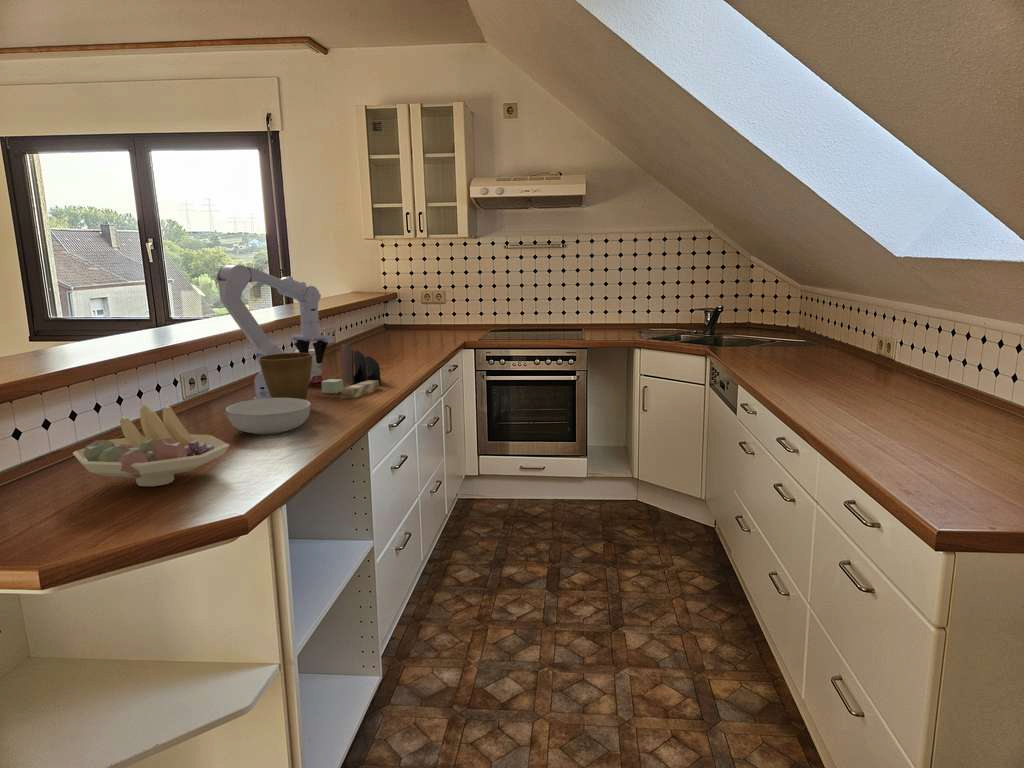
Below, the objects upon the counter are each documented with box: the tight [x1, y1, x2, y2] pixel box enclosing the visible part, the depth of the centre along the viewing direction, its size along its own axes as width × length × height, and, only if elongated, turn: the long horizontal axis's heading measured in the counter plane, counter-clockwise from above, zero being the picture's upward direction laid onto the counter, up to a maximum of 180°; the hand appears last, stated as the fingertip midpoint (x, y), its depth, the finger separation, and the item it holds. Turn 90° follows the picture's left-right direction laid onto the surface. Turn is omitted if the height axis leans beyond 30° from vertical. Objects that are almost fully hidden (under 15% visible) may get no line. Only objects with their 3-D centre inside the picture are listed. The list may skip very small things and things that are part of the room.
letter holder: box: [340, 343, 382, 387], centre depth 249 cm, size 10×20×14 cm, turn 24°
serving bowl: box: [225, 398, 312, 436], centre depth 183 cm, size 21×21×7 cm
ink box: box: [293, 348, 323, 384], centre depth 250 cm, size 9×5×12 cm, turn 103°
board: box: [340, 380, 380, 399], centre depth 230 cm, size 16×4×3 cm, turn 159°
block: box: [320, 378, 344, 394], centre depth 233 cm, size 5×5×4 cm
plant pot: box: [259, 352, 312, 400], centre depth 208 cm, size 15×15×16 cm
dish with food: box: [72, 404, 230, 487], centre depth 142 cm, size 28×28×14 cm
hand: (312, 362), depth 235 cm, fingers open, 5 cm apart
